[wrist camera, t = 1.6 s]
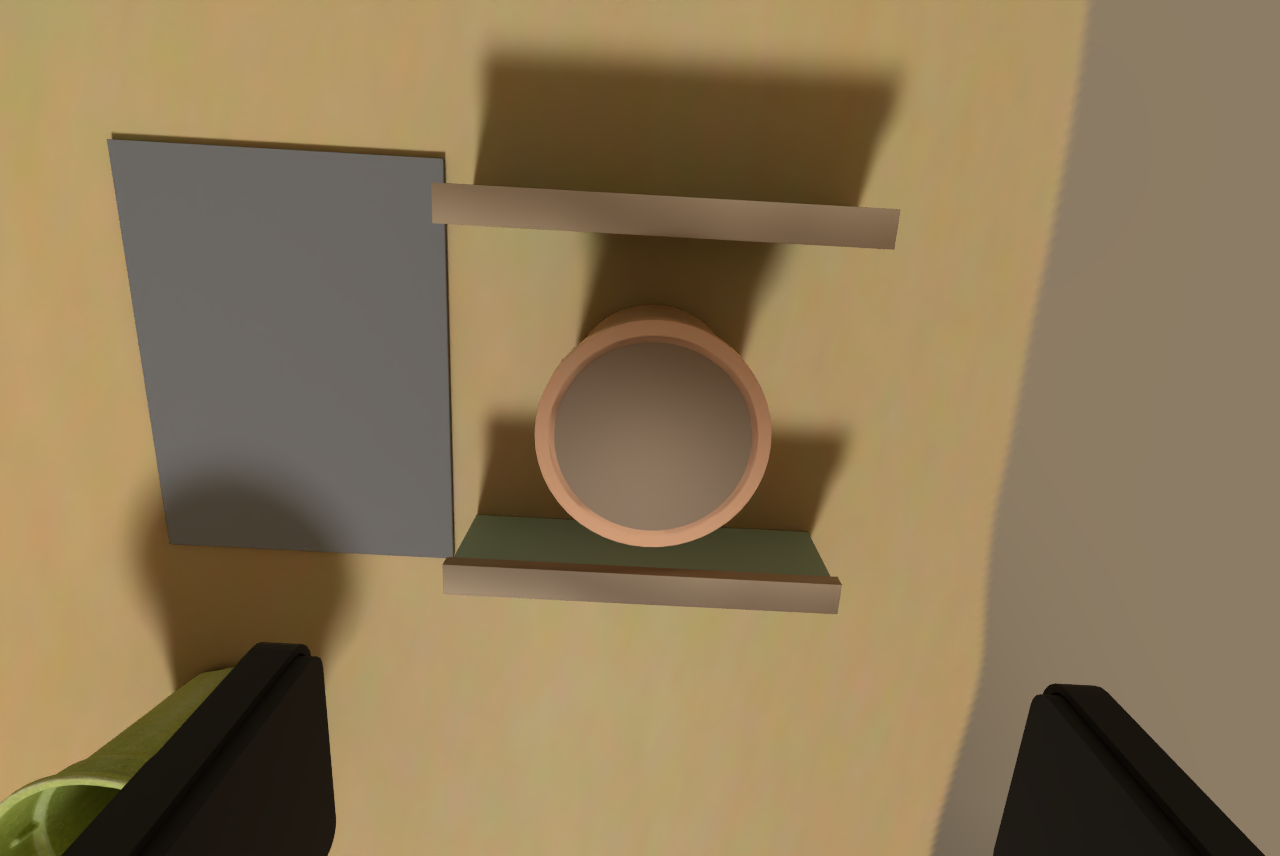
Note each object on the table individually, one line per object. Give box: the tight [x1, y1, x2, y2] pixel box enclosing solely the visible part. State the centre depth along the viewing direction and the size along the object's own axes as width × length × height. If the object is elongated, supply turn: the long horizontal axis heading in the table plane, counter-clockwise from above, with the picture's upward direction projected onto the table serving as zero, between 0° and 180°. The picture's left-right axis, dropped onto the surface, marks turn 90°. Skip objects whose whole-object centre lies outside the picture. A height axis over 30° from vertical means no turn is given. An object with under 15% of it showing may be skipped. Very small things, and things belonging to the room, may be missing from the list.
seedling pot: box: [535, 304, 772, 547], centre depth 25 cm, size 7×7×7 cm
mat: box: [107, 139, 454, 558], centre depth 28 cm, size 16×12×1 cm
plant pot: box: [0, 667, 234, 856], centre depth 29 cm, size 9×9×9 cm
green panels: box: [431, 182, 900, 614], centre depth 26 cm, size 14×14×5 cm
